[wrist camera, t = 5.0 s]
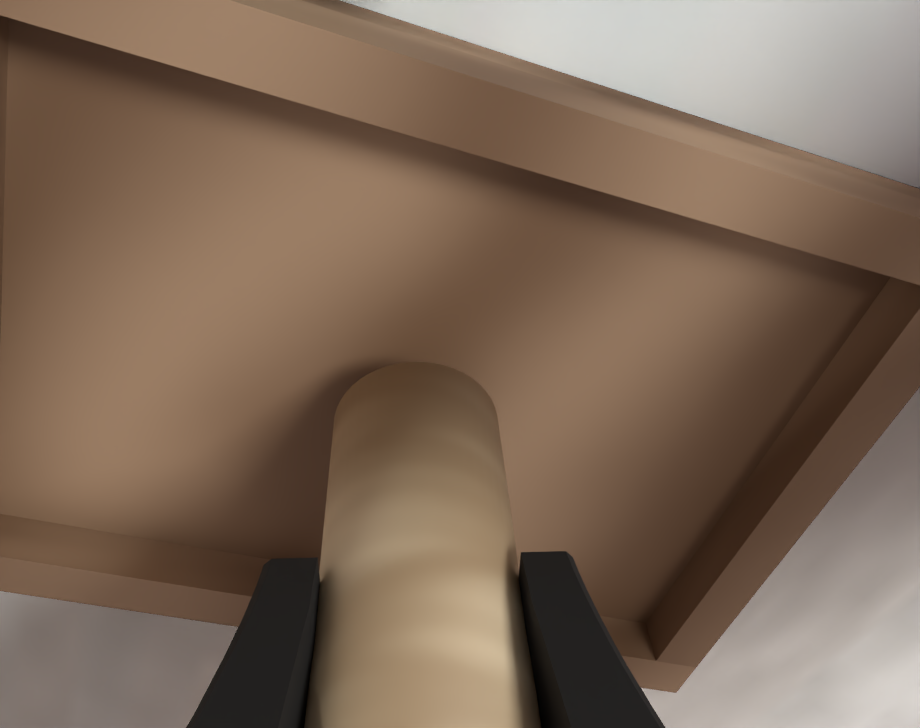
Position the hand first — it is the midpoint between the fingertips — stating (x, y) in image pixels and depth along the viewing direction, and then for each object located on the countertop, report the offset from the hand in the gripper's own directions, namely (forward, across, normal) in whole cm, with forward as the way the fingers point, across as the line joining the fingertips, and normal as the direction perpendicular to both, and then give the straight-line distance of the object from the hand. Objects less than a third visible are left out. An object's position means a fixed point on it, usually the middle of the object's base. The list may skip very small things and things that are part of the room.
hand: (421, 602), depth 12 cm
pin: (+4, 0, 0) cm, 4 cm away
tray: (+5, 0, 0) cm, 5 cm away
